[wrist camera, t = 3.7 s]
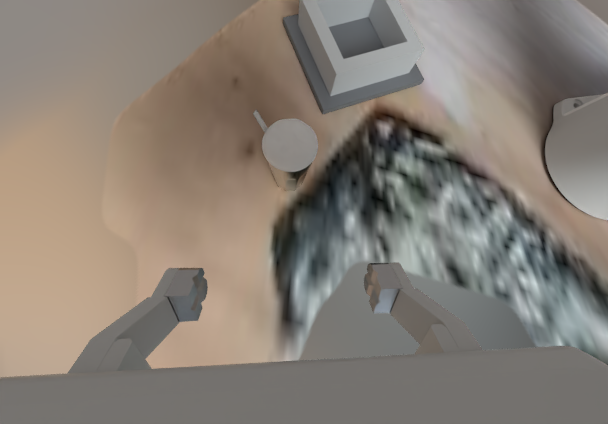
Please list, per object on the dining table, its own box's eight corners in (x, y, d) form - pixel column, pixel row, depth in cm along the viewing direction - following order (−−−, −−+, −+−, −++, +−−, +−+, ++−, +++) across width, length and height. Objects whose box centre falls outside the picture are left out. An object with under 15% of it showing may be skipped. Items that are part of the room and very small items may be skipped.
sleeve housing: (377, 0, 33) (390, -37, 29) (420, 84, 31) (441, 56, 27) (283, 23, 31) (282, -13, 27) (322, 114, 29) (328, 89, 25)
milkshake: (276, 149, 27) (271, 88, 18) (315, 171, 27) (332, 123, 17) (255, 180, 27) (237, 134, 17) (295, 204, 26) (301, 172, 17)
